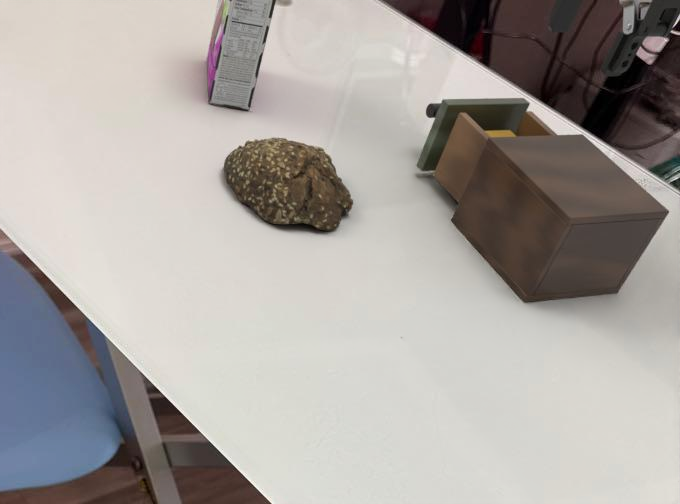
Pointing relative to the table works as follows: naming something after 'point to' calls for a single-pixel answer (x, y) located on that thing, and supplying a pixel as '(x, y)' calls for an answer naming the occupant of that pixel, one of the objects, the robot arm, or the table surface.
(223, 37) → the candy bar box
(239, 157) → the bread roll
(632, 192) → the cabinet
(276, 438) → the table surface
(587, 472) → the table surface
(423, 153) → the drawer
